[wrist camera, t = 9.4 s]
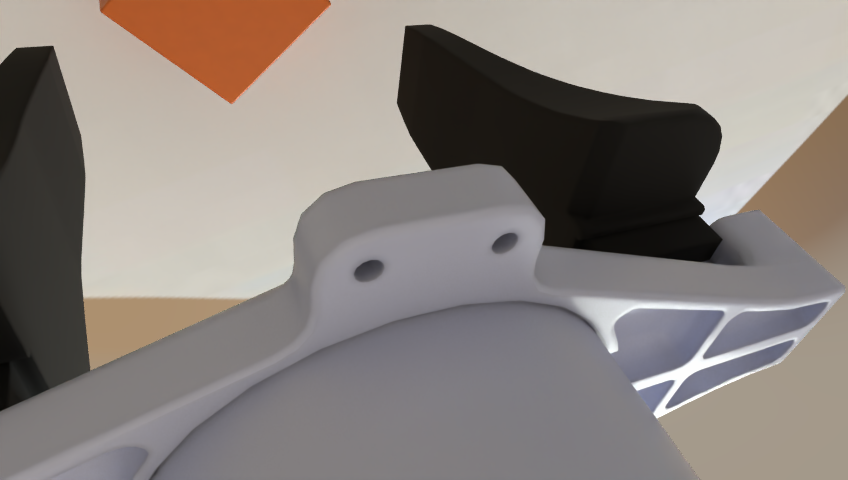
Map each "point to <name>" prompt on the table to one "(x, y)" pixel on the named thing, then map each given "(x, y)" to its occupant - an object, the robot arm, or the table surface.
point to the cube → (217, 35)
